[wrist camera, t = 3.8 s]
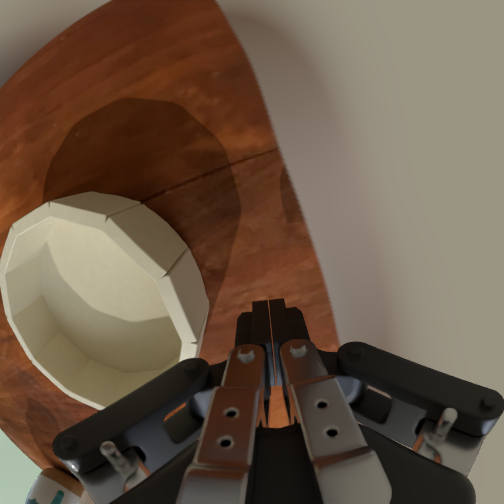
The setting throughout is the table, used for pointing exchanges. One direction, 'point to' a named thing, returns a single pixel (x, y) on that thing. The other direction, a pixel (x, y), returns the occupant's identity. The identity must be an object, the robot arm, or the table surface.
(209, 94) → the table surface
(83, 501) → the candle
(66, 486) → the vase
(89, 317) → the pan
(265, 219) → the table surface
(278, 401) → the table surface
